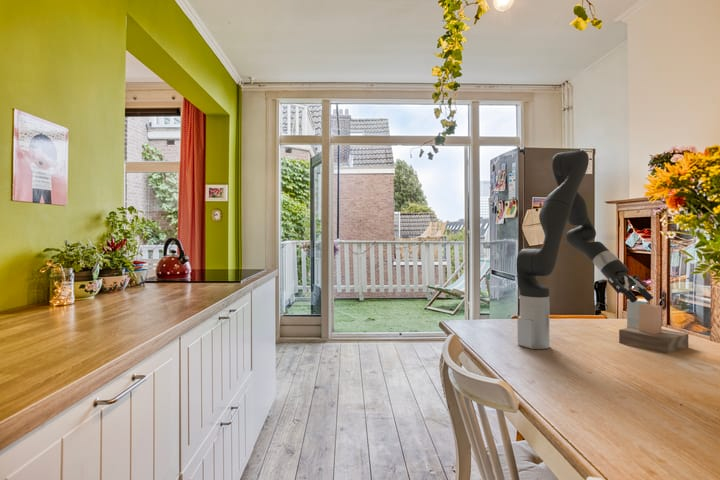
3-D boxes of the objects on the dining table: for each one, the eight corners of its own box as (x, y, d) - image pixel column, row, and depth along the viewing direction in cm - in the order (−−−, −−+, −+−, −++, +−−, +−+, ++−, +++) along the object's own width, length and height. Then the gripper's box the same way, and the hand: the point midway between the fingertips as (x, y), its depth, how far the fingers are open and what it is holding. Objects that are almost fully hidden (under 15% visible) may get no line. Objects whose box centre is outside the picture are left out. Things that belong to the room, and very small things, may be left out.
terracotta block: (653, 334, 122) (653, 307, 122) (638, 330, 126) (639, 304, 126) (661, 332, 124) (661, 306, 124) (646, 329, 128) (646, 303, 128)
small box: (647, 336, 135) (647, 301, 135) (626, 333, 140) (626, 299, 140) (651, 333, 141) (650, 299, 141) (630, 330, 145) (630, 297, 145)
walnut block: (667, 355, 115) (667, 339, 115) (619, 343, 128) (619, 329, 128) (688, 348, 122) (688, 333, 122) (640, 338, 134) (640, 325, 134)
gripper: (604, 259, 132) (638, 295, 122) (629, 258, 138) (664, 292, 127) (590, 272, 137) (622, 308, 127) (614, 271, 143) (647, 305, 132)
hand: (643, 300), depth 127 cm, fingers open, 8 cm apart
